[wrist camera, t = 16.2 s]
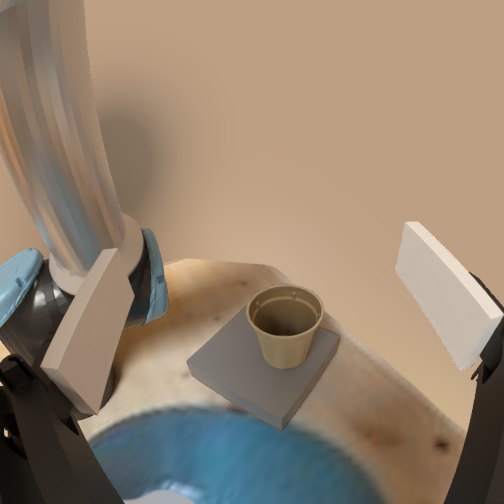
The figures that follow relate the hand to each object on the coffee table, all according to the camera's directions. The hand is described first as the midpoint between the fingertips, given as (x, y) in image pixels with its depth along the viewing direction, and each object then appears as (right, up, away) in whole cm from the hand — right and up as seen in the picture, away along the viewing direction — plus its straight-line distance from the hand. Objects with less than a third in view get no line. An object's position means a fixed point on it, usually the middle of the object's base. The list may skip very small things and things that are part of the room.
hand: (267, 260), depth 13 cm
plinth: (+2, -17, +29) cm, 34 cm away
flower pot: (+4, -14, +27) cm, 30 cm away
